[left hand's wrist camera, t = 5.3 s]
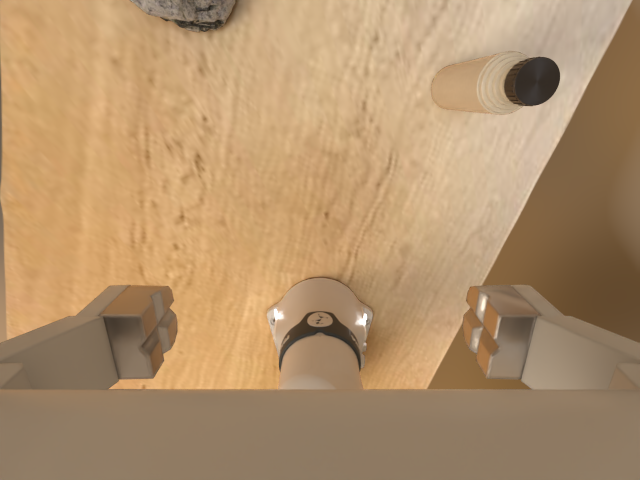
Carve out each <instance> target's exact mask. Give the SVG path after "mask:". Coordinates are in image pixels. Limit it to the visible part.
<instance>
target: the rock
mask: <svg viewBox="0 0 640 480" xmlns="http://www.w3.org/2000/svg"><path fill="white" fill-rule="evenodd" d="M130 1H131V2H133V3H135V4H136V5H137V6H138V7H139V8H140V9H141V10H143V11H144V12H145V13H147V14H149V15H153V16H159V17H161V18H162V19H164V20H165V21H173V22H174V23H176V24H177V25H178V26H179V27H182V28H185V29H186V30H190V31H195V32H200V30H201V31H204V32H205V31H207V30H209V29H210V30H218V29H219V28H221V27H222V26H223V25H224V24H225V22H226V20H227V18H228V17H229V15H230V13H231V12H232V8H233V6H234V4H235V3H236V0H130Z"/></svg>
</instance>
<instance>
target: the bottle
mask: <svg viewBox="0 0 640 480" xmlns="http://www.w3.org/2000/svg"><path fill="white" fill-rule="evenodd" d="M528 58H529V57H528V56H526V55H524V54H522V53H520V52H515V51H508V52H503V53H499V54H495V55H490V56H486V57H482V58H478V59H474V60H470V61H466V62H461V63H457V64H453V65H449V66H446V67H444V68H443V69H441V70H440V71H439V72H438V73H437V74H436V76H435V78H434V80H433V82H432V86H431V94H432V98H433V100H434V102H435V103H436V104H437V105H438V106H439V107H441V108H443V109H447V110H457V111H467V112H477V113H487V114H496V115H505V114H509V113H512V112H515V111H516V110H518V109H520V108H522V107H523V106H518V105H517V104H513V103H512V102H511V101H509V99H508V98H507V97H506V94H505V91H504V82H505V79H506V76H507V74H508V72H509V71H510V69H511V68H512V67H513V66H514V65H515V64H517V63H519V61H523V60H525V59H528Z"/></svg>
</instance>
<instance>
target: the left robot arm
mask: <svg viewBox="0 0 640 480" xmlns="http://www.w3.org/2000/svg"><path fill="white" fill-rule="evenodd" d="M173 301H174V299H173V294H172V290H171V289H170V287H169V286H143V285H132V286H131V285H113V286H109V287H108V288H107V289H105V290H104V291H103V292H102V293H101V294H100V295H99V296H97V297H96V298H95V299H94V300H93V301H92V302H91V303H90V304H88V305H87V306H86V307H85V308H84V309H83V310H82V311H81V312H79V313H78V314H77V315H76V316H68V317H66V318H63V319H61V320H58V321H55V322H53V323H50V324H48V325H45V326H43V327H40V328H38V329H35V330H32V331H30V332H27V333H25V334H22V335H20V336H17V337H15V338H12V339H9V340H7V341H4V342H2V343H0V480H640V343H638V342H636V341H633V340H630V339H628V338H625V337H623V336H620V335H618V334H615V333H613V332H610V331H607V330H605V329H602V328H600V327H597V326H595V325H592V324H590V323H587V322H584V321H582V320H579V319H577V318H574V317H572V316H564V315H563V314H562V313H561V312H559V311H558V310H557V309H556V308H555V307H554V306H553V305H552V304H550V303H549V302H548V301H547V300H546V299H545V298H544V297H543V296H541V295H540V294H539V293H538V292H537V291H536V290H535V289H534V288H532V287H531V286H529V285H496V286H472V287H470V288H469V291H468V293H467V299H466V301H467V303H468V304H469V306H470V309H469V310H468V311H467V312H466V313H465V314H464V317H463V325H462V326H463V336H464V339H465V342H466V344H467V346H468V348H469V349H470V350H471V351H473V352H475V353H476V354H477V357H476V361H477V363H478V365H479V366H480V368H481V370H482V371H483V373H484V375H485V376H486V378H487V379H521V381H522V382H523V383H525V384H526V385H527V386H529V387H530V388H531V389H363V386H362V382H361V377H360V369H361V368H364V364H365V355H363V354H362V353H363V351H366V348H367V344H366V343H365V342H366V339H367V335H368V332H369V329H370V325H371V322H372V318H373V311H372V309H371V308H370V307H368V306H367V305H365V304H363V303H362V302H360V301H359V300H358V299H357V297H356V296H355V294H354V293H353V292H352V291H351V290H350V289H349V288H348V287H347V286H345V285H344V284H342V283H340V282H338V281H336V280H333V279H328V278H312V279H307V280H304V281H302V282H300V283H298V284H296V285H295V286H293V287H292V288H291V289H290V290H289V291H288V292H287V293H286V294H285V296H284V297H283V299H282V300H281V301H280V302H279V303H277V304H275V305H273V306H272V307H270V308H269V309H268V311H267V318H268V322H269V325H270V329H271V332H272V335H273V339H274V342H275V346H276V349H277V352H278V356H279V369H280V379H279V386H278V389H109V388H110V387H111V386H113V385H114V384H115V383H117V382H118V381H119V379H152V378H154V376H155V375H156V373H157V371H158V370H159V368H160V366H161V365H162V363H163V361H164V357H163V354H164V353H165V352H167V351H169V350H170V349H171V348H172V346H173V344H174V342H175V339H176V335H177V317H176V314H175V313H174V312H173V311H172V310H171V309H170V306H171V304H172V303H173ZM273 319H275V320H273ZM366 319H367V320H366Z"/></svg>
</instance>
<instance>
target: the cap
mask: <svg viewBox="0 0 640 480" xmlns="http://www.w3.org/2000/svg"><path fill="white" fill-rule="evenodd" d="M559 81H560V72H559V68H558V66H557V65H556V63H555V62H554V61H553V60H551V59H549V58H546V57H536V58H535V57H534V58H528V59H525V60H523V61H519V63H517V64H515V65H514V66H513V67H512V68H511V69H510V71H509V72H508V74H507V76H506V79H505V82H504V91H505V94H506V97H507V98H508V99H509V101H511V102H512V103H513V104H517V105H518V106H533V105H539V104H542V103H544V102H545V101H547V100H548V99H549V98H550V97H551V96H552V95H553V94H554V93H555V91H556V89H557V87H558V85H559Z"/></svg>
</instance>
